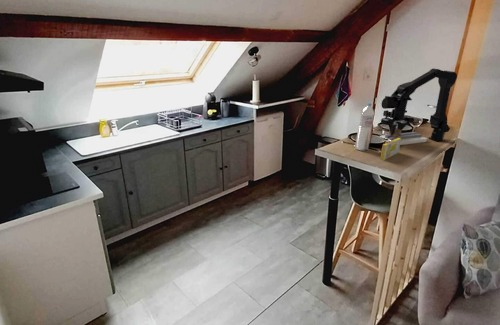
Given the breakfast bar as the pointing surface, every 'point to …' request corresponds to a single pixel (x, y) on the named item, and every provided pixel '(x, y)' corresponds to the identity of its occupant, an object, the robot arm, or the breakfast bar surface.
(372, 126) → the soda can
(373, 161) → the breakfast bar surface
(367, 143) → the water bottle
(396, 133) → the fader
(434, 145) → the breakfast bar surface
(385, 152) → the candy box
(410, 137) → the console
